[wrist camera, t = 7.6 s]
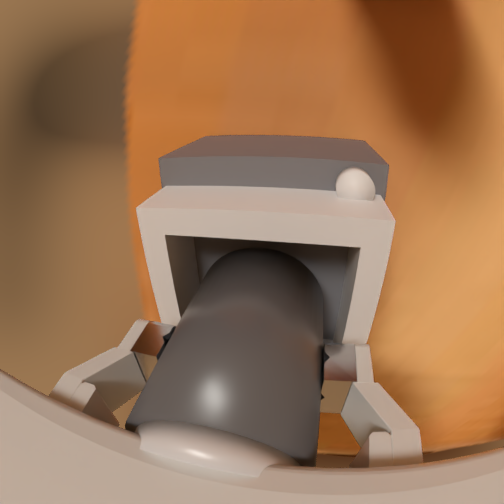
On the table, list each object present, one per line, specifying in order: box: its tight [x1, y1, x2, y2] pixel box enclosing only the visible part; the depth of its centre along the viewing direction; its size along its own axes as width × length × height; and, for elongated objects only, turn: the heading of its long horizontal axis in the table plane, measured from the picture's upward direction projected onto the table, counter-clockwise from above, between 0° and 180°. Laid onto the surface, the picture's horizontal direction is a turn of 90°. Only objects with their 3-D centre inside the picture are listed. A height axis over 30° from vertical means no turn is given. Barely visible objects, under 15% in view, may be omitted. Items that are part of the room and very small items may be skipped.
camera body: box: [136, 135, 395, 345], centre depth 15 cm, size 9×11×8 cm
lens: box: [125, 247, 323, 477], centre depth 9 cm, size 5×5×8 cm
